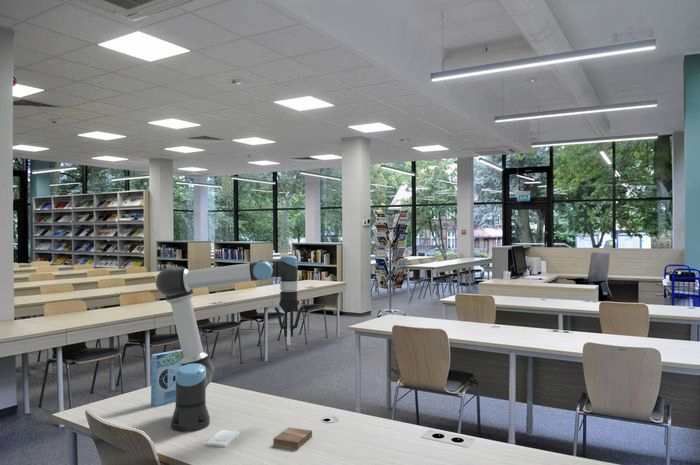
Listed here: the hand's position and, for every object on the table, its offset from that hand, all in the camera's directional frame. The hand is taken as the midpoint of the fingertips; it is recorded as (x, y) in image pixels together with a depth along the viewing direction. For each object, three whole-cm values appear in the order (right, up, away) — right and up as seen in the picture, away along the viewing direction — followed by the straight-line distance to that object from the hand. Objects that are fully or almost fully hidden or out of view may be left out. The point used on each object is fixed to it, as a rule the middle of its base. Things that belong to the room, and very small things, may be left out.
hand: (288, 344), depth 218 cm
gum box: (-56, -30, +14) cm, 65 cm away
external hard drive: (-21, -29, -32) cm, 48 cm away
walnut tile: (+8, -28, -28) cm, 40 cm away
